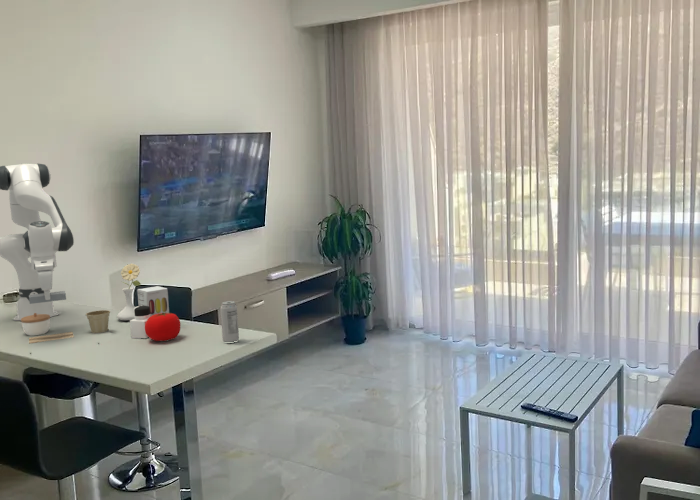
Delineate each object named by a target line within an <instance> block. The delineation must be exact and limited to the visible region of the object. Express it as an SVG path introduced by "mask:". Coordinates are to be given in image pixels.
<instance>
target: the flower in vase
mask: <svg viewBox="0 0 700 500" xmlns="http://www.w3.org/2000/svg"><path fill="white" fill-rule="evenodd" d="M140 272H141V270H140V267H139V265H137V264H135V263H132V262H131V263H129V264H127V265H124V266H123V268H122V269H121V271H120V275H121V277H122V279H123V280H125V281H128V282H130V281H131V283H130V284H129V283H127V282H124V281H122V283H123V284H126V285H128V286H129V287H124V288H122V289H121V290H122V291H123V293H124V295H125V300H126V301H125V302H126V303H125V304H126V305H125V306H124V307H123V308H122V309H121V310H120V311H119V312H118V314H117V315H116V319H118V320H120V321H130V320H132V319H135V317H134V308H135V307H136V306H135V305H134V304H133V301H132V300H133V299H132V295H133V291H134V289H135V288H134V287H138V286H141V285H142V283H141V282H140V281H139V280H138V279H137V278H138V277H139V275H140ZM135 279H137V280H135ZM132 285H133V286H134V287H132Z"/></svg>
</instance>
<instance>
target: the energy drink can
mask: <svg viewBox="0 0 700 500" xmlns="http://www.w3.org/2000/svg"><path fill="white" fill-rule="evenodd" d="M219 308H220V310H219V311H220V320H221V323H220V324H221V335H222V338H221V339H222V341H223V342H234V341H237V340H238V341H239V340H240V334H239V318H238V306H237V305H236V302H235V301H233V300H228V301H227V300H226V301H222V302H221V306H220V307H219Z"/></svg>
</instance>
